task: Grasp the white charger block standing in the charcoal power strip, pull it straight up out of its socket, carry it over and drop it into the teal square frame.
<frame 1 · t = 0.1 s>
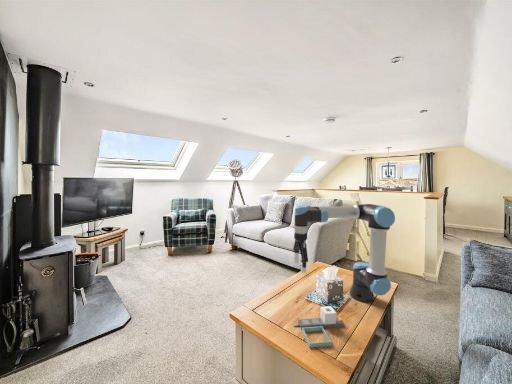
hand: (299, 267, 132), 28 cm above the table, fingers open, 13 cm apart
teal square frame: (315, 340, 111), on the table
power strip: (320, 326, 121), on the table
charger: (327, 324, 122), point 1 cm above the table, touching power strip
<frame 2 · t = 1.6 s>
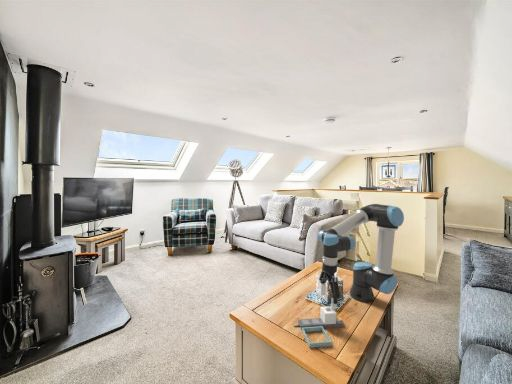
hand: (328, 301, 120), 14 cm above the table, fingers open, 13 cm apart
nothing on the table moved.
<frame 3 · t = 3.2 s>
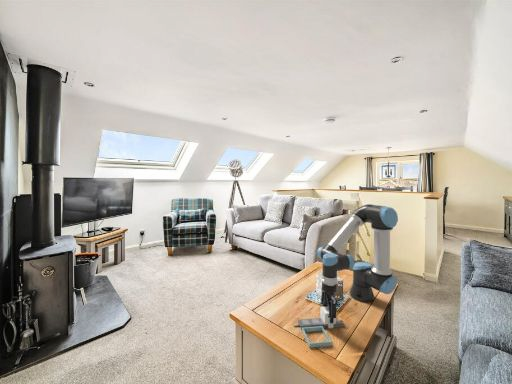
hand: (327, 323, 122), 1 cm above the table, fingers closed on charger, 6 cm apart
charger: (327, 324, 122), point 1 cm above the table, touching gripper, power strip
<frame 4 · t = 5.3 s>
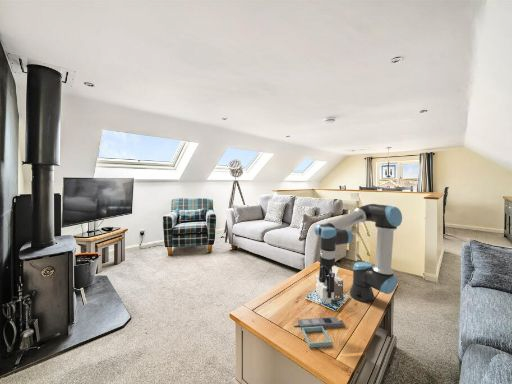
hand: (325, 299, 118), 17 cm above the table, fingers closed on charger, 6 cm apart
charger: (325, 300, 118), point 16 cm above the table, touching gripper
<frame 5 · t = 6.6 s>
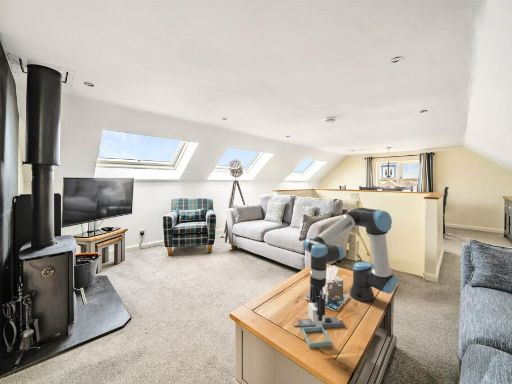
hand: (316, 321, 110), 10 cm above the table, fingers closed on charger, 6 cm apart
charger: (316, 322, 110), point 10 cm above the table, touching gripper
when the fingers open (3 cm above the table, at t = 7.6 s): charger drops 2 cm, resting on teal square frame.
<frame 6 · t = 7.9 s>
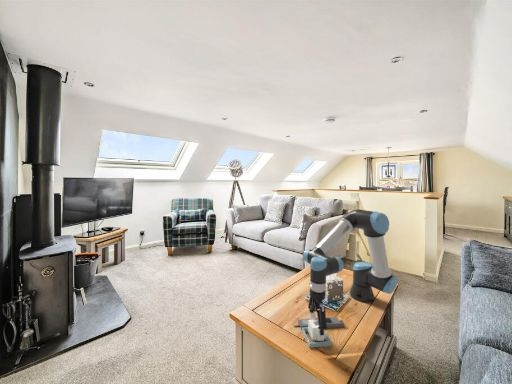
hand: (316, 331, 111), 4 cm above the table, fingers open, 10 cm apart
charger: (315, 339, 111), resting on teal square frame
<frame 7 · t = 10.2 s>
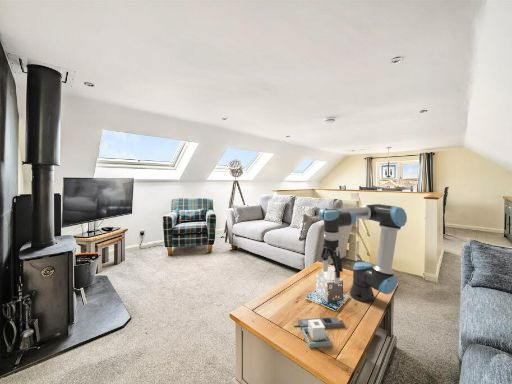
hand: (330, 276, 121), 27 cm above the table, fingers open, 13 cm apart
nothing on the table moved.
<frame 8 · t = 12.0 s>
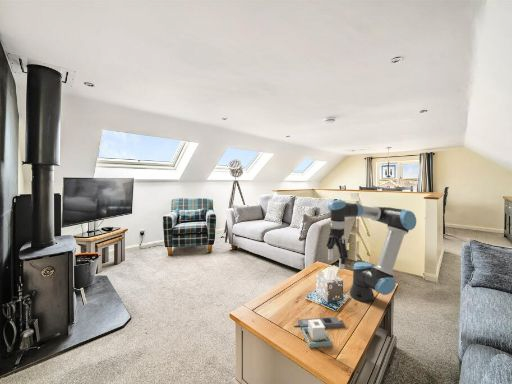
hand: (335, 264, 127), 32 cm above the table, fingers open, 13 cm apart
nothing on the table moved.
at the end: charger inside the target area on the teal square frame (0.0 cm from its centre), point 0.5 cm above the teal square frame's base; charger touching teal square frame; the gripper is holding nothing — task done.
